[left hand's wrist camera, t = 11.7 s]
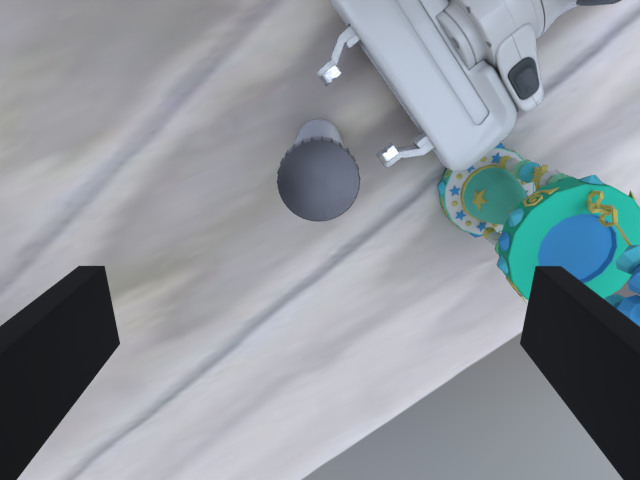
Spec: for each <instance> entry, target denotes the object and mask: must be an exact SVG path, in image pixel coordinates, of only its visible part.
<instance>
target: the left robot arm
mask: <svg viewBox="0 0 640 480" xmlns="http://www.w3.org/2000/svg"><path fill="white" fill-rule="evenodd" d="M119 344H120V341H119V336H118V331H117V326H116V321H115V316H114V311H113V306H112V301H111V296H110V291H109V286H108V281H107V276H106V271H105V266H78V267H77V268H76V269H74V270H73V271H72V272H71V273H69V274H68V275H67V276H65V277H64V278H63V279H61V280H60V281H59V282H57V283H56V284H55V285H54V286H52V287H51V288H50V289H48V290H47V291H46V292H44V293H43V294H42V295H41V296H39V297H38V298H37V299H35V300H34V301H33V302H31V303H30V304H29V305H28V306H26V307H25V308H24V309H22V310H21V311H20V312H18V313H17V314H16V315H15V316H13V317H12V318H11V319H9V320H8V321H7V322H5V323H4V324H3V325H1V326H0V480H17V478H18V477H19V476H20V474H21V473H22V472H23V471H24V469H25V468H26V467H27V465H28V464H29V463H30V461H31V460H32V459H33V457H34V456H35V455H36V453H37V452H38V451H39V450H40V448H41V447H42V446H43V444H44V443H45V442H46V440H47V439H48V438H49V436H50V435H51V434H52V432H53V431H54V430H55V429H56V427H57V426H58V425H59V423H60V422H61V421H62V419H63V418H64V417H65V415H66V414H67V413H68V411H69V410H70V409H71V407H72V406H73V405H74V404H75V402H76V401H77V400H78V398H79V397H80V396H81V394H82V393H83V392H84V390H85V389H86V388H87V386H88V385H89V384H90V383H91V381H92V380H93V379H94V377H95V376H96V375H97V373H98V372H99V371H100V369H101V368H102V367H103V365H104V364H105V363H106V362H107V360H108V359H109V358H110V356H111V355H112V354H113V352H114V351H115V350H116V348H117V347H118V346H119ZM520 344H521V346H522V347H523V348H524V350H525V351H526V352H527V354H528V355H529V356H530V357H531V359H532V360H533V361H534V363H535V364H536V365H537V367H538V368H539V369H540V371H541V372H542V373H543V375H544V376H545V377H546V379H547V380H548V381H549V382H550V384H551V385H552V386H553V388H554V389H555V390H556V392H557V393H558V394H559V396H560V397H561V398H562V400H563V401H564V402H565V403H566V405H567V406H568V407H569V409H570V410H571V411H572V413H573V414H574V415H575V417H576V418H577V419H578V421H579V422H580V423H581V425H582V426H583V427H584V428H585V430H586V431H587V432H588V434H589V435H590V436H591V438H592V439H593V440H594V442H595V443H596V444H597V446H598V447H599V448H600V450H601V451H602V452H603V453H604V455H605V456H606V457H607V459H608V460H609V461H610V463H611V464H612V465H613V467H614V468H615V469H616V471H617V472H618V473H619V474H620V476H621V477H622V478H623V480H640V326H639V325H637V324H636V323H635V322H633V321H632V320H631V319H629V318H628V317H627V316H626V315H624V314H623V313H622V312H620V311H619V310H618V309H616V308H615V307H614V306H612V305H611V304H610V303H609V302H607V301H606V300H605V299H603V298H602V297H601V296H599V295H598V294H597V293H596V292H594V291H593V290H592V289H590V288H589V287H588V286H586V285H585V284H584V283H583V282H581V281H580V280H579V279H577V278H576V277H575V276H573V275H572V274H571V273H569V272H568V271H567V270H566V269H564V268H563V267H562V266H535V271H534V276H533V281H532V286H531V291H530V296H529V301H528V306H527V311H526V316H525V321H524V326H523V331H522V336H521V342H520Z"/></svg>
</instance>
